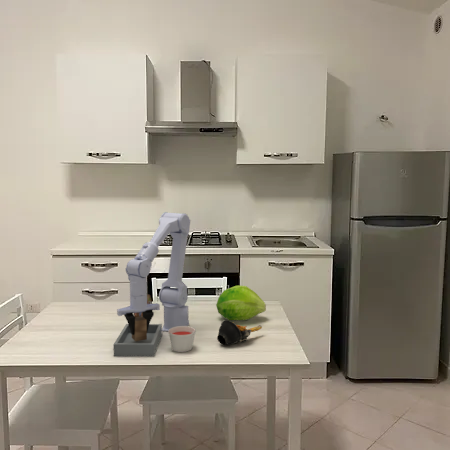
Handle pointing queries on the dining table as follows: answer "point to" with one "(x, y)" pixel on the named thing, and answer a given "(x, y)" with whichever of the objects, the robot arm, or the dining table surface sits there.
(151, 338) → the bin
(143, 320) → the block
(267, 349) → the dining table surface
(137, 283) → the robot arm
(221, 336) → the fried shrimp in bowl
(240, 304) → the green papaya
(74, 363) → the dining table surface
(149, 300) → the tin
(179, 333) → the candle
